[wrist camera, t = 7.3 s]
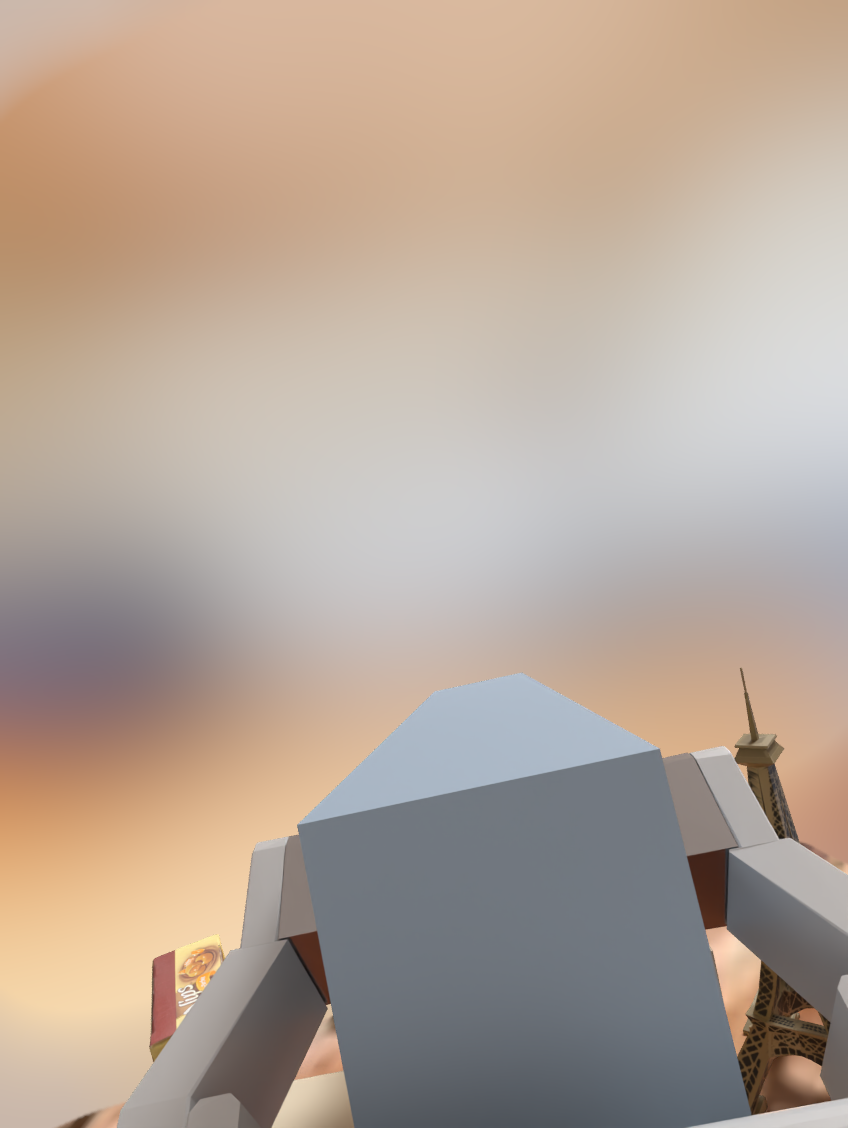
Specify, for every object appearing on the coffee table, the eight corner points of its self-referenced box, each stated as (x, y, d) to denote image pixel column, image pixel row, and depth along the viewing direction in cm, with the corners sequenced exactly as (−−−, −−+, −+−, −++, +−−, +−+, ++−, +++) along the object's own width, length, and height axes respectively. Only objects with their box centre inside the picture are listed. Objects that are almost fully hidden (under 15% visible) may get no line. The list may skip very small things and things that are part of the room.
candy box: (307, 1290, 38) (235, 1008, 37) (224, 1337, 37) (146, 1046, 36) (281, 1161, 47) (221, 928, 46) (212, 1196, 45) (149, 957, 44)
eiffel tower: (924, 1205, 36) (825, 698, 34) (703, 1127, 43) (611, 700, 41) (945, 1052, 44) (865, 635, 42) (756, 1007, 51) (681, 646, 49)
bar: (371, 1219, 8) (296, 825, 8) (454, 781, 34) (434, 691, 34) (759, 1147, 8) (660, 748, 8) (542, 762, 33) (521, 672, 34)
